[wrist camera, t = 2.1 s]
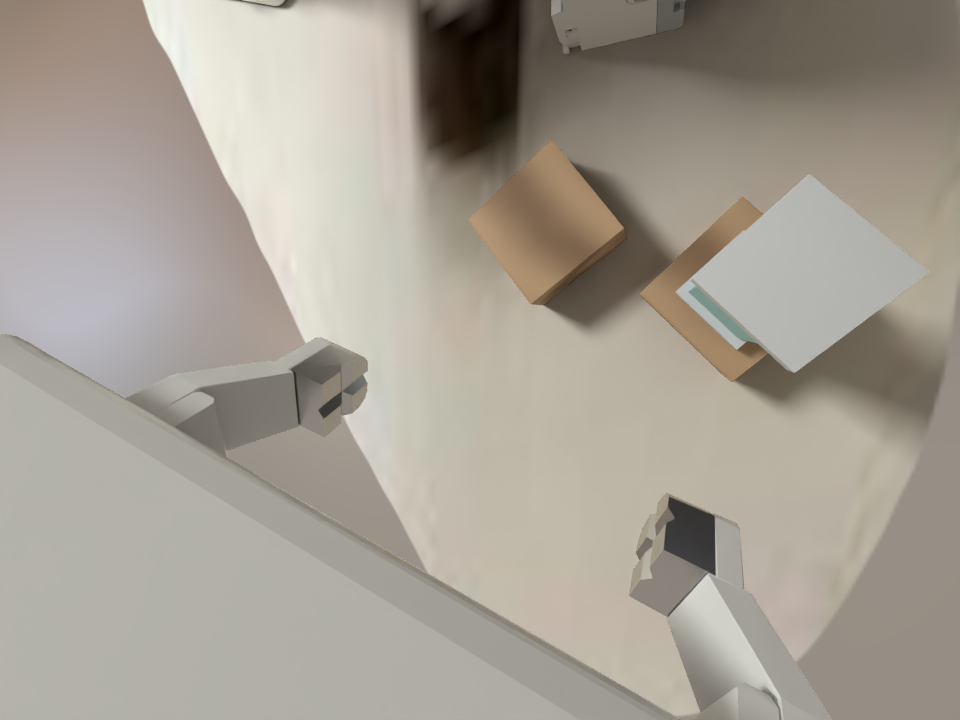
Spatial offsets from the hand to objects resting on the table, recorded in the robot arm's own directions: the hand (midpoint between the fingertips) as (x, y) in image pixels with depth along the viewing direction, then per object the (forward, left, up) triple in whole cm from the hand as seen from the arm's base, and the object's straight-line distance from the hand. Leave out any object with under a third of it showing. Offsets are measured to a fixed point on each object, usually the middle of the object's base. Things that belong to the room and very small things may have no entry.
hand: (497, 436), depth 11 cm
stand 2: (+8, +6, -25) cm, 26 cm away
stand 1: (-5, +9, -25) cm, 27 cm away
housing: (+8, +6, -21) cm, 23 cm away
